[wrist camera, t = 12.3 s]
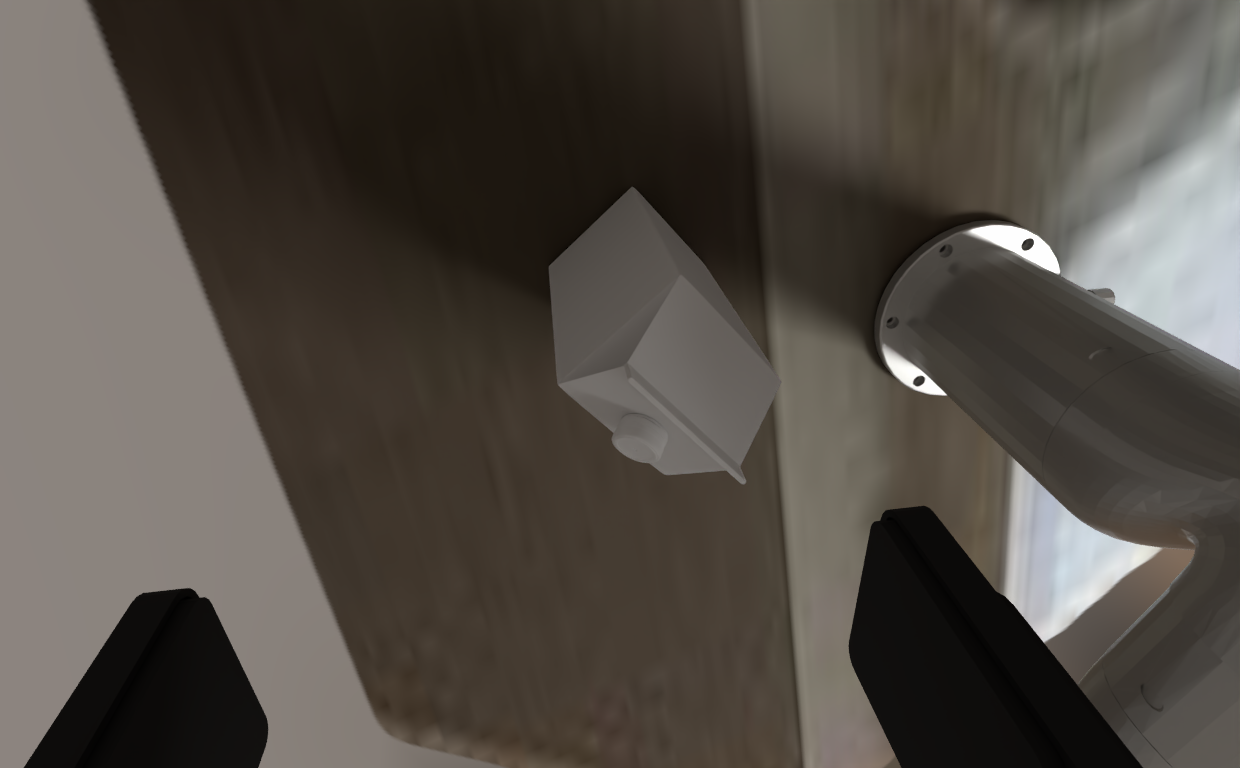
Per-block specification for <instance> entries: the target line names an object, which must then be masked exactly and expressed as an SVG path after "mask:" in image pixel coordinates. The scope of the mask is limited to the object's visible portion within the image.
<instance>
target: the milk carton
mask: <svg viewBox="0 0 1240 768" xmlns="http://www.w3.org/2000/svg"><path fill="white" fill-rule="evenodd" d="M549 280H550V293H551V306H552V320H553V333H554V346H555V359H556V372H557V382H558V385H559V386H560V387H561V388H562V389H563V390H564V391H565V392H566V393H567V394H568V395H569V396H571V397H572V398H573V399H574V400H575V401H576V402H578V403H579V404H580V405H581V406H582V407H583V408H585V409H586V410H587V411H588V412H589V413H591V414H592V415H593V416H594V417H595V418H597V419H598V420H599V421H600V422H601V423H602V424H604V425H605V426H606V427H607V428H608V429H610V430H611V431H612V432H613V433H614V434H613V436H612V443H613V445H614V446H615V447H616V448H617V449H618V450H619V451H620V452H621V453H622V454H624V455H625V456H627V457H629V458H631V459H633V460H635V461H638V462H643V463H650V464H651V465H652V466H654V467H655V468H656V469H657V470H659V471H660V472H661V473H663V474H665V475H675V474H687V473H700V472H712V471H725V470H726V471H728V472H729V473H730V474H731V475H732V476H733V477H734V478H735V479H736V480H737V481H739V482H740V483H741V484H745V483H746V479H745V477H744V475H743V473H742V471H741V468H740V466H741V464H742V462H743V460H744V458H745V456H746V454H747V451H748V449H749V447H750V445H751V443H752V441H753V439H754V437H755V435H756V433H757V431H758V429H759V427H760V425H761V423H762V421H763V419H764V417H765V415H766V413H767V411H768V409H769V407H770V405H771V403H772V401H773V398H774V396H775V394H776V392H777V390H778V388H779V386H780V384H781V380H780V378H779V376H778V375H777V373H776V372H775V370H774V369H773V367H772V366H771V364H770V363H769V361H768V360H767V358H766V357H765V355H764V354H763V352H762V351H761V349H760V348H759V346H758V345H757V343H756V342H755V340H754V339H753V337H752V335H751V334H750V332H749V331H748V329H747V328H746V326H745V325H744V323H743V322H742V320H741V319H740V317H739V316H738V314H737V313H736V311H735V310H734V308H733V307H732V305H731V304H730V302H729V301H728V299H727V298H726V296H725V295H724V293H723V292H722V290H721V289H720V287H719V286H718V284H717V282H716V281H715V279H714V278H713V276H712V275H711V273H710V272H709V270H708V269H707V267H706V266H705V265H704V263H703V262H702V261H701V260H700V259H699V258H698V257H697V255H696V254H695V253H694V252H693V251H692V250H691V249H690V248H689V247H688V246H687V244H686V243H685V242H684V241H683V240H682V239H681V238H680V237H679V236H678V235H677V233H676V232H675V231H674V230H673V229H672V228H671V227H670V226H669V225H668V224H667V223H666V221H665V220H664V219H663V218H662V217H661V216H660V215H659V214H658V213H657V212H656V210H655V209H654V208H653V207H652V206H651V205H650V204H649V203H648V202H647V201H646V200H645V198H644V197H643V196H642V195H641V194H640V193H639V192H638V191H637V190H636V189H635V188H634V187H631V188H630V189H629V190H628V191H627V192H626V193H625V194H624V195H623V196H622V197H620V198H619V199H618V200H617V201H616V202H615V203H614V204H613V205H612V206H611V207H610V208H609V209H608V210H607V211H606V212H605V213H604V214H603V215H602V216H601V217H600V218H599V219H598V220H596V221H595V222H594V223H593V224H592V225H591V226H590V227H589V228H588V229H587V230H586V231H585V232H584V233H583V234H582V235H581V236H580V237H579V238H578V239H577V240H576V241H575V242H574V243H572V244H571V245H570V246H569V247H568V248H567V249H566V250H565V251H564V252H563V253H562V254H561V255H560V256H559V257H558V258H557V259H556V260H555V261H554V262H553V263H552V264H551V265H550V266H549Z"/></svg>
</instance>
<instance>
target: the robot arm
mask: <svg viewBox="0 0 1240 768" xmlns="http://www.w3.org/2000/svg"><path fill="white" fill-rule="evenodd" d="M1114 303H1115V295H1114V292H1113V291H1112V290H1111V289H1108V288H1103V289H1091V290H1086V289H1084V288H1082V287H1080V286H1078V285H1076V284H1074V283H1073V282H1071V281H1069V280H1067V279H1065V278H1063V277H1061V271H1060V268H1059V264H1058V261H1057V257H1056V256H1055V254H1054V252H1053V251H1052V249H1051V247H1050V246H1049V245H1048V244H1047V243H1046V242H1045V241H1044V240H1043V239H1042V238H1041V237H1040V236H1039V235H1037V234H1035V233H1034V232H1032V231H1030V230H1028V229H1026V228H1024V227H1022V226H1019V225H1016V224H1014V223H1011V222H1006V221H998V220H985V221H974V222H971V223H967V224H963V225H959V226H956V227H954V228H952V229H949V230H947V231H945V232H943V233H941V234H939V235H937V236H936V237H934V238H933V239H931V240H929V241H928V242H926V243H925V244H923V245H922V246H921V247H920V248H919V249H917V250H916V251H915V252H914V253H913V254H912V255H911V256H909V257H908V258H907V259H906V261H905V262H904V263H903V264H902V265H901V266H900V268H899V269H898V270H897V271H896V272H895V274H894V275H893V277H892V279H891V280H890V282H889V283H888V285H887V287H886V288H885V290H884V293H883V295H882V298H881V300H880V303H879V305H878V309H877V313H876V318H875V332H874V338H875V343H876V348H877V352H878V354H879V356H880V358H881V360H882V362H883V364H884V366H885V367H886V368H887V369H888V370H889V371H890V373H891V374H892V375H893V376H894V377H895V378H896V379H897V380H899V381H900V382H901V383H902V384H903V385H905V386H907V387H908V388H910V389H912V390H914V391H917V392H921V393H924V394H928V395H940V396H946V395H948V396H949V397H950V398H951V399H952V400H953V401H954V402H955V403H956V404H957V405H958V406H959V407H960V408H961V409H962V410H963V411H964V412H965V413H967V414H968V415H969V416H970V417H971V418H972V419H973V420H974V421H975V422H976V423H977V424H978V425H979V426H980V427H981V428H982V429H983V430H984V431H985V432H986V433H988V434H989V435H990V436H991V437H992V438H993V439H994V440H995V441H996V442H997V443H998V444H999V445H1000V446H1001V447H1002V448H1003V449H1004V450H1005V451H1006V452H1007V453H1009V454H1010V455H1011V456H1012V457H1013V458H1014V459H1015V460H1016V461H1017V462H1018V463H1019V464H1020V465H1021V466H1022V467H1023V468H1024V469H1025V470H1026V471H1027V472H1028V473H1030V474H1031V475H1032V476H1033V477H1034V478H1035V479H1036V480H1037V481H1038V482H1039V483H1040V484H1041V485H1042V486H1043V487H1044V488H1045V489H1046V490H1047V491H1048V492H1050V493H1051V494H1052V495H1053V496H1054V497H1055V498H1056V499H1057V500H1058V501H1059V502H1060V503H1061V504H1062V505H1063V506H1064V507H1065V508H1066V509H1067V510H1068V511H1070V512H1071V513H1072V514H1073V515H1074V516H1075V517H1077V518H1078V519H1079V520H1080V521H1082V522H1083V523H1085V524H1087V525H1088V526H1090V527H1092V528H1093V529H1095V530H1097V531H1099V532H1101V533H1104V534H1106V535H1108V536H1111V537H1113V538H1116V539H1119V540H1123V541H1127V542H1131V543H1135V544H1140V545H1146V546H1154V547H1161V548H1171V549H1185V550H1195V554H1194V556H1193V558H1192V560H1191V561H1190V563H1189V564H1188V565H1187V566H1186V567H1185V569H1184V570H1183V571H1182V572H1181V573H1180V574H1179V575H1178V576H1177V577H1176V579H1175V580H1174V581H1173V582H1172V583H1171V584H1170V587H1169V588H1168V589H1167V590H1166V591H1165V592H1164V593H1163V594H1162V595H1161V596H1160V597H1159V598H1158V599H1157V600H1156V601H1155V602H1154V603H1153V605H1152V606H1150V607H1149V608H1148V609H1147V610H1146V611H1145V612H1144V613H1143V614H1142V615H1141V616H1140V617H1139V618H1138V619H1137V621H1136V622H1134V623H1133V624H1132V625H1131V626H1130V627H1129V628H1128V629H1127V630H1126V631H1125V632H1124V634H1122V635H1121V636H1120V638H1119V639H1118V640H1117V641H1116V642H1115V643H1114V644H1113V645H1112V646H1111V647H1110V648H1109V649H1108V650H1107V651H1106V653H1104V655H1103V656H1102V657H1101V658H1100V659H1099V660H1098V661H1097V662H1096V663H1095V664H1094V665H1093V666H1092V667H1091V668H1090V670H1089V671H1088V672H1087V673H1086V674H1085V675H1084V677H1083V678H1082V679H1081V680H1080V682H1079V684H1078V685H1077V684H1076V683H1075V682H1074V680H1073V679H1072V678H1071V676H1070V675H1069V674H1068V673H1067V671H1066V670H1065V669H1064V668H1063V666H1062V665H1061V664H1060V663H1059V662H1058V660H1057V659H1056V658H1055V656H1054V655H1053V654H1052V653H1051V651H1050V650H1049V649H1048V648H1047V646H1046V645H1045V644H1044V643H1043V641H1042V640H1041V639H1040V638H1039V636H1038V635H1037V634H1036V633H1035V631H1034V630H1033V629H1032V628H1031V626H1030V625H1029V624H1028V622H1027V621H1026V620H1025V619H1024V617H1023V616H1022V615H1021V614H1020V612H1019V611H1018V610H1017V609H1016V607H1015V606H1014V605H1013V604H1012V603H1011V602H1010V601H1009V600H1008V599H1007V598H1006V597H1005V596H1003V595H1001V594H1000V593H998V592H996V591H995V590H994V588H993V587H992V586H991V585H990V583H989V582H988V581H987V579H986V578H985V577H984V576H983V574H982V573H981V572H980V571H979V569H978V568H977V567H976V565H975V564H974V563H973V562H972V560H971V559H970V558H969V557H968V555H967V554H966V553H965V551H964V550H963V549H962V548H961V546H960V545H959V544H958V543H957V541H956V540H955V539H954V537H953V536H952V535H951V534H950V532H949V531H948V530H947V529H946V527H945V526H944V525H943V523H942V522H941V521H940V520H939V518H938V517H937V516H936V515H935V513H934V512H933V511H932V510H931V509H930V508H928V507H926V506H918V507H909V508H901V509H892V510H886V511H885V512H884V513H883V514H882V517H881V520H880V521H876V522H874V523H873V524H872V526H871V529H870V535H869V540H868V545H867V550H866V556H865V561H864V566H863V571H862V577H861V582H860V587H859V592H858V598H857V603H856V608H855V613H854V619H853V624H852V629H851V634H850V640H849V654H850V659H851V663H852V666H853V668H854V671H855V673H856V675H857V677H858V679H859V681H860V683H861V685H862V687H863V689H864V691H865V693H866V695H867V697H868V699H869V702H870V704H871V706H872V708H873V710H874V712H875V714H876V716H877V718H878V720H879V722H880V724H881V726H882V728H883V730H884V733H885V735H886V737H887V739H888V741H889V743H890V745H891V747H892V749H893V751H894V753H895V755H896V757H897V759H898V761H899V763H900V765H901V768H1240V370H1239V369H1237V368H1235V367H1233V366H1231V365H1229V364H1227V363H1225V362H1223V361H1221V360H1219V359H1217V358H1216V357H1214V356H1212V355H1210V354H1208V353H1206V352H1204V351H1202V350H1200V349H1198V348H1196V347H1194V346H1192V345H1191V344H1189V343H1187V342H1185V341H1183V340H1181V339H1179V338H1177V337H1175V336H1173V335H1171V334H1170V333H1168V332H1166V331H1164V330H1162V329H1160V328H1158V327H1156V326H1154V325H1152V324H1151V323H1149V322H1147V321H1145V320H1143V319H1141V318H1139V317H1137V316H1135V315H1133V314H1132V313H1130V312H1128V311H1126V310H1124V309H1122V308H1120V307H1118V306H1116V305H1114ZM267 737H268V723H267V718H266V715H265V713H264V711H263V709H262V707H261V705H260V703H259V701H258V699H257V697H256V695H255V693H254V690H253V689H252V686H251V685H250V682H249V681H248V678H247V676H246V674H245V672H244V670H243V668H242V666H241V664H240V661H239V659H238V657H237V655H236V653H235V651H234V649H233V647H232V645H231V643H230V641H229V639H228V637H227V635H226V633H225V630H224V628H223V626H222V624H221V622H220V620H219V618H218V616H217V614H216V612H215V610H214V607H213V605H212V604H211V602H210V601H209V599H207V598H205V597H203V598H199V596H198V595H197V593H196V592H195V591H194V590H192V589H190V588H186V589H176V590H167V591H158V592H149V593H142V594H141V595H139V596H138V597H136V598H135V600H134V601H133V602H132V603H131V604H130V606H129V608H128V609H127V611H126V612H125V614H124V615H123V617H122V618H121V620H120V621H119V623H118V624H117V626H116V627H115V629H114V630H113V632H112V634H111V635H110V637H109V638H108V640H107V641H106V643H105V644H104V646H103V647H102V649H101V650H100V652H99V654H98V655H97V657H96V658H95V660H94V661H93V663H92V664H91V666H90V667H89V669H88V670H87V672H86V673H85V675H84V676H83V678H82V679H81V681H80V682H79V684H78V686H77V687H76V689H75V690H74V692H73V693H72V695H71V696H70V698H69V700H68V701H67V702H66V704H65V705H64V707H63V709H62V710H61V712H60V713H59V715H58V716H57V718H56V719H55V721H54V722H53V724H52V725H51V727H50V729H49V730H48V732H47V733H46V735H45V736H44V738H43V739H42V741H41V742H40V744H39V745H38V747H37V749H36V750H35V752H34V753H33V754H32V756H31V757H30V759H29V760H28V762H27V764H26V765H25V767H24V768H258V767H259V764H260V761H261V758H262V755H263V753H264V749H265V747H266V743H267Z"/></svg>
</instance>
